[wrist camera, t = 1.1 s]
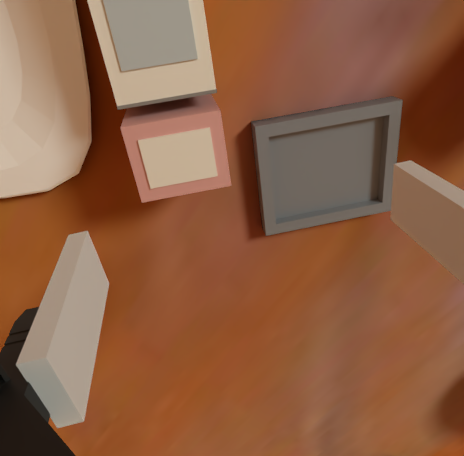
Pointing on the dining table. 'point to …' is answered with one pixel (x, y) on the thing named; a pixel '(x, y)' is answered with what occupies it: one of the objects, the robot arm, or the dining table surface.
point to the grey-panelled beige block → (154, 49)
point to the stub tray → (326, 164)
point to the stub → (176, 147)
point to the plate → (41, 96)
